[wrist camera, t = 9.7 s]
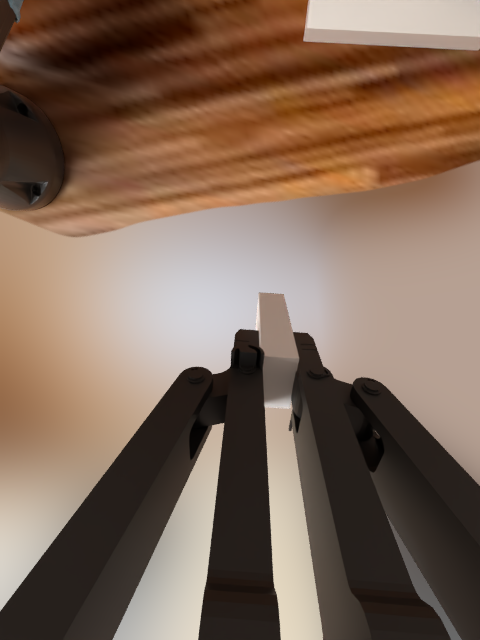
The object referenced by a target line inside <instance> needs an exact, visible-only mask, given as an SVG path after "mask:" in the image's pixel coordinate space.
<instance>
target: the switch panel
mask: <svg viewBox="0 0 480 640" xmlns="http://www.w3.org/2000/svg"><path fill="white" fill-rule="evenodd" d="M304 41H306V42H325V43H344V44H363V45H382V46H401V47H420V48H439V49H458V50H477V51H478V50H479V49H480V0H308V8H307V16H306V24H305V32H304Z"/></svg>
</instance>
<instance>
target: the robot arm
mask: <svg viewBox="0 0 480 640" xmlns="http://www.w3.org/2000/svg"><path fill="white" fill-rule="evenodd" d="M23 1H24V0H0V51H1V49H2V47H3V45H4V42H5V40H6V38H7V36H8V34H9V32H10V30H11V27H12V25H13V23H14V21H15V22H16V23H18V22H19V20H20V8H21V6H22V3H23ZM63 176H64V157H63V151H62V147H61V144H60V141H59V138H58V136H57V133H56V131H55V129H54V127H53V126H52V124H51V122H50V121H49V119H48V118H47V117H46V115H45V114H44V113H43V112H42V111H41V110H40V108H39V107H37V106H36V105H35V104H34V103H33V102H32V101H31V100H29V99H28V98H26V97H25V96H23V95H21V94H19V93H17V92H15V91H13V90H11V89H9V88H7V87H5V86H2V85H0V208H3V209H8V210H23V211H28V210H36V209H39V208H42V207H44V206H45V205H47V204H48V203H50V202H51V201H52V200H53V199H54V197H55V196H56V195H57V193H58V191H59V189H60V187H61V184H62V181H63ZM291 401H292V407H293V410H292V414H291V420H290V425H289V431H291V429H292V427H293V434H294V441H295V448H296V454H297V460H298V468H299V475H300V481H301V488H302V495H303V502H304V508H305V515H306V522H307V529H308V535H309V542H310V549H311V556H312V562H313V569H314V576H315V583H316V589H317V596H318V603H319V609H320V616H321V622H322V631H323V640H451V639H450V636H449V634H448V632H447V631H446V628H445V627H444V624H443V622H442V621H441V619H440V617H439V616H438V614H437V613H436V612H435V610H434V609H433V608H432V607H431V606H430V605H428V604H427V603H425V602H424V601H423V600H421V599H420V597H419V596H418V594H417V593H416V591H415V589H414V586H413V584H412V581H411V579H410V576H409V574H408V571H407V568H406V566H405V563H404V561H403V558H402V555H401V553H400V550H399V547H398V545H397V542H396V540H395V537H394V534H393V532H392V529H391V527H390V524H389V521H388V519H387V516H388V518H389V519H390V521H391V523H392V524H393V526H394V528H395V529H396V531H397V533H398V534H399V536H400V537H401V539H402V541H403V543H404V544H405V546H406V548H407V549H408V551H409V552H410V554H411V556H412V557H413V559H414V561H415V562H416V564H417V566H418V568H419V569H420V571H421V573H422V574H423V576H424V578H425V579H426V581H427V583H428V584H429V586H430V588H431V589H432V591H433V592H434V594H435V596H436V597H437V599H438V601H439V602H440V604H441V606H442V607H443V609H444V611H445V612H446V614H447V616H448V617H449V619H450V621H451V622H452V624H453V626H454V627H455V629H456V631H457V632H458V634H459V636H460V637H461V639H462V640H480V486H479V485H478V484H477V483H476V482H475V481H474V479H472V477H471V476H470V475H469V474H468V473H467V472H466V471H465V470H464V469H463V468H462V467H461V466H460V465H459V464H458V463H457V462H456V460H455V459H454V458H453V457H452V456H451V455H450V454H449V453H448V452H447V451H446V450H445V449H444V448H443V447H442V446H441V445H440V444H439V442H438V441H437V440H436V439H434V437H433V436H432V435H431V434H430V433H429V432H428V431H427V430H426V429H425V428H424V427H423V426H422V425H421V424H420V422H418V420H417V419H416V418H415V417H414V416H413V415H412V414H411V413H410V412H409V411H408V410H407V409H406V408H405V407H404V405H402V403H401V402H400V401H399V400H398V399H397V398H396V397H395V396H394V395H393V394H392V393H391V392H390V391H389V390H388V389H387V388H386V387H385V386H384V385H383V384H382V383H380V382H378V381H376V380H374V379H370V378H362V377H361V378H357V379H356V380H355V381H354V382H353V385H352V384H349V383H345V382H342V381H339V380H336V379H334V378H333V375H332V374H331V372H330V371H329V370H328V369H327V368H325V367H323V365H322V362H321V359H320V356H319V353H318V351H317V348H316V346H315V342H314V339H313V338H312V337H311V336H310V335H309V334H308V333H298V332H293V331H292V327H291V323H290V319H289V315H288V310H287V307H286V302H285V299H284V294H274V293H259V296H258V307H257V318H256V330H243V329H240V330H239V331H238V332H237V333H236V334H235V342H234V348H233V349H232V351H231V367H230V368H229V369H228V370H226V371H224V372H222V373H218V374H212V373H211V372H210V371H209V370H208V369H206V368H203V367H191V368H188V369H186V370H184V371H183V372H182V373H181V374H180V375H179V376H178V377H177V379H176V380H175V381H174V383H173V384H172V385H171V387H170V388H169V390H168V391H167V392H166V393H165V395H164V396H163V397H162V399H161V400H160V401H159V403H158V404H157V405H156V407H155V408H154V409H153V411H152V412H151V413H150V415H149V416H148V417H147V418H146V420H145V421H144V422H143V424H142V425H141V426H140V428H139V429H138V431H137V432H136V433H135V434H134V436H133V437H132V438H131V440H130V441H129V442H128V444H127V445H126V446H125V447H124V449H123V450H122V452H121V453H120V454H119V455H118V457H117V458H116V459H115V461H114V462H113V463H112V465H111V466H110V467H109V469H108V470H107V472H106V473H105V474H104V475H103V477H102V478H101V479H100V481H99V482H98V483H97V484H96V486H95V487H94V488H93V490H92V491H91V492H90V494H89V495H88V497H87V498H86V499H85V500H84V502H83V503H82V504H81V506H80V507H79V508H78V510H77V511H76V512H75V513H74V515H73V516H72V517H71V519H70V520H69V521H68V523H67V524H66V525H65V527H64V528H63V529H62V531H61V532H60V533H59V535H58V536H57V537H56V539H55V540H54V541H53V543H52V544H51V545H50V546H49V548H48V549H47V550H46V552H45V553H44V555H43V556H42V557H41V559H40V560H39V561H38V562H37V564H36V565H35V566H34V568H33V569H32V570H31V572H30V573H29V574H28V576H27V577H26V578H25V580H24V581H23V582H22V584H21V585H20V586H19V588H18V589H17V590H16V591H15V593H14V594H13V595H12V597H11V598H10V599H9V601H8V602H7V603H6V605H5V606H4V607H3V609H2V610H1V611H0V640H112V639H113V637H114V635H115V633H116V631H117V629H118V627H119V625H120V622H121V620H122V618H123V616H124V614H125V612H126V610H127V608H128V605H129V603H130V601H131V599H132V597H133V595H134V593H135V590H136V588H137V586H138V584H139V582H140V580H141V578H142V576H143V573H144V571H145V569H146V567H147V565H148V563H149V560H150V559H151V556H152V554H153V552H154V550H155V548H156V546H157V544H158V541H159V539H160V537H161V535H162V533H163V531H164V528H165V527H166V524H167V522H168V520H169V518H170V516H171V514H172V512H173V510H174V507H175V505H176V503H177V501H178V499H179V497H180V495H181V493H182V490H183V488H184V486H185V484H186V482H187V480H188V478H189V475H190V473H191V471H192V469H193V467H194V465H195V463H196V461H197V458H198V456H199V454H200V452H201V450H202V448H203V445H204V443H205V441H206V439H207V437H208V435H209V433H210V431H211V428H212V425H215V424H220V423H224V432H223V441H222V450H221V459H220V467H219V477H218V486H217V495H216V503H215V512H214V521H213V531H212V539H211V547H210V557H209V565H208V574H207V582H206V586H205V590H204V597H203V605H202V613H201V621H200V629H199V638H198V640H281V638H280V621H279V609H278V601H277V594H276V592H275V588H274V582H273V566H272V546H271V528H270V506H269V486H268V466H267V446H266V426H265V407H272V408H286V409H290V405H291ZM375 431H376V432H377V433H378V434H377V433H376V432H375ZM385 513H386V514H387V516H386V514H385Z"/></svg>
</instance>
